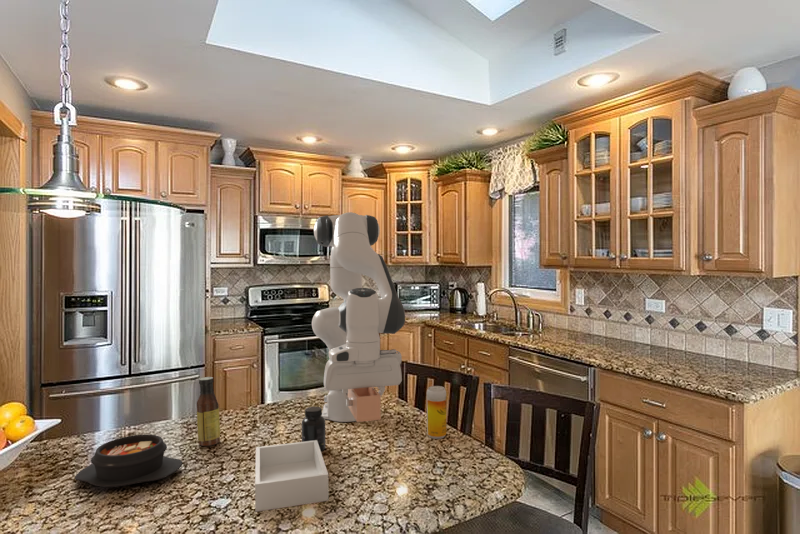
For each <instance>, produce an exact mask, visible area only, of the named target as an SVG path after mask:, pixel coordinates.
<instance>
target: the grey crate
mask: <svg viewBox="0 0 800 534" xmlns="http://www.w3.org/2000/svg"><path fill="white" fill-rule="evenodd" d="M254 474H255V475H254V477H255V479H254V488H255V489H254V501H255V502H254V504H255V506H254V507H255V509H254V510H255V511H254V512H263V511H268V510H269V511H270V510H275V509H281V508H282V509H283V508H289V507H295V506H300V505H308V504H314V503H320V502H321V503H322V502H328V501H329V499H330V497H329V472H328V470H327V467H326V463H325V460H324V458H323V454H322V452H321V451H320V448H319V444H318V441H317V440H314V441H305V442H302V441H298V442H292V443H291V442H290V443H280V444H279V443H278V444H272V445H263V446H256V447H255V473H254Z"/></svg>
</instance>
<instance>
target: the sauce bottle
mask: <svg viewBox="0 0 800 534" xmlns="http://www.w3.org/2000/svg"><path fill="white" fill-rule="evenodd" d="M214 382H215V381H214V377H212V376H206V377H201V378H199V379H198V384H199V396H198V399H197V401H196V422H197V424H196V425H197V439H198V444H199V446H202V447H210V446H215V445H216V444H218V443H220V441H221V438H220V437H221V426H220V425H221V424H220V410H219V409H220V408H219V407H220V406H219V403H218V400H217V398H216V395H215V392H214Z"/></svg>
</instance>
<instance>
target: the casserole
mask: <svg viewBox="0 0 800 534" xmlns="http://www.w3.org/2000/svg"><path fill="white" fill-rule="evenodd" d="M167 449H168V445H167V444H166V443H165V442H164V439H163V438H162V437H161V436H160V435H155V434H136V435H129V436H124V437H120V438H116V439H112V440H109V441H107V442H105V443H102V444H101V445H99V446H98V447H97V448H96V449H95V452H94V454H93V456H92V457H91V458H90V463H91V464H90V465H87V466H86V467H84V468H83V469H81V470H80V471H78V472H77V474H76V475H75V476H74V479H75V480H76V481H80V482H83V483H88V484H90V485H93V486H95V487H101V488H102V487H103V488H113V487H114V488H115V487H117V488H118V487H126V486H131V485H132V486H133V485H135V484H136V485H137V484H139V483H147V482H153V481H154V482H155V481H159V480H162V479H165V478H167V477H169V476H170V475H172V474H174V473H176V472H177V471H178V470H180V469H181V468H182V466H183V461H182V460H181V459H179V458H173V457H168V456H165V451H166V450H167Z"/></svg>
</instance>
